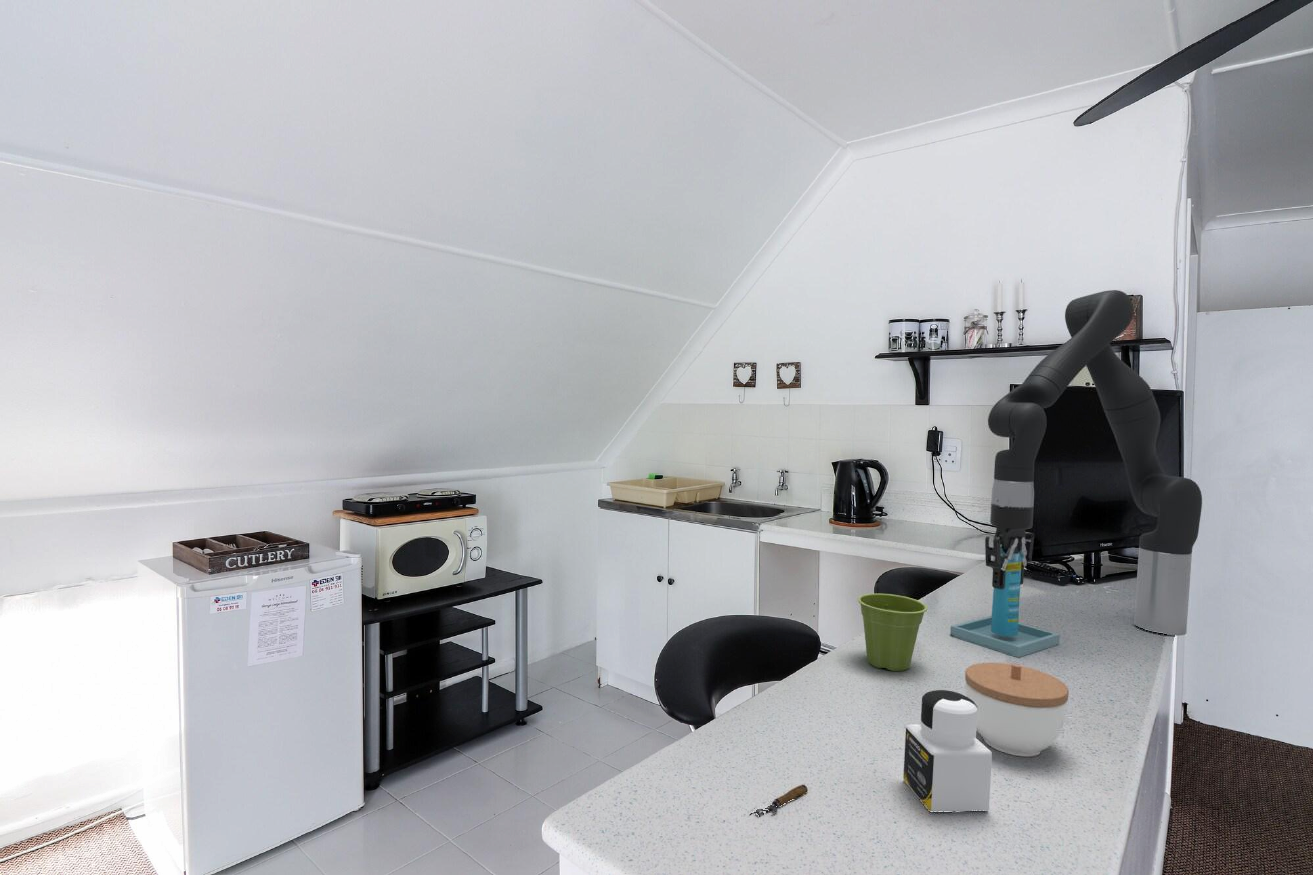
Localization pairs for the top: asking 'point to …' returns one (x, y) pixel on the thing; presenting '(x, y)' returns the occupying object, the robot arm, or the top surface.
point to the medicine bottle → (947, 755)
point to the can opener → (786, 798)
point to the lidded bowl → (1016, 707)
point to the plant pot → (890, 629)
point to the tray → (1005, 637)
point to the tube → (1007, 600)
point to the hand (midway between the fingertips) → (1007, 585)
